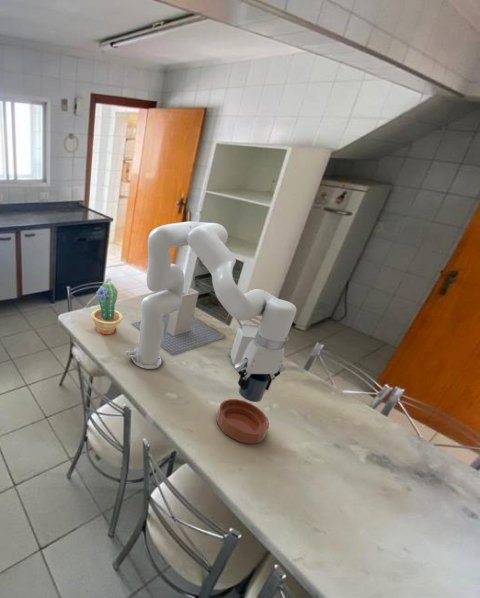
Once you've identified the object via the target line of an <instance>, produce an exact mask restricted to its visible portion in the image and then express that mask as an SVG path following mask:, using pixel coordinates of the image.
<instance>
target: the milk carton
mask: <svg viewBox="0 0 480 598" xmlns="http://www.w3.org/2000/svg"><path fill="white" fill-rule="evenodd" d="M259 325H260V324H253V323H242V325H240V326H239V327H238V329H237V332H236V335H235V338H234V341H233V345H232V348H231V351H230V354H229V355H230V356H229V357H230V359H231V361H232V362H231V363H232V364H233V366H234V365H236V364H238V363H240V362H241V360H242V357H243V355H244V353H245V350H246V348H247V346H248V345H249V343H250V342H251V340H254V339H255V337H256V334H257V331H258V328H259Z"/></svg>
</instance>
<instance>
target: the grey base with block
mask: <svg viewBox="0 0 480 598" xmlns="http://www.w3.org/2000/svg"><path fill="white" fill-rule="evenodd" d="M199 294H200V293H199V291H197V290H195V289H194V288H191V287H189V290H188V293H187V294H185V292H183V295H182V302H181V306H180V307H179V309H178V310H176V311H174V312H172V313H169V314H167V315H164V316H163V318H162V320H163V322H164V331H163V337H162V342H161V348H163V349H164V351H165V350H166V351H167V352H168V353H169V354H170V355H174V356H175V355H177V354H180V353H182V352H186V351H189V350H191V349H194V348H197V347H200V346H203V345H206V344H209V343H212V342H215V341H217V340H220V339H223V338H225V335H223V334H221V333H219V332H217V330H214V329H213V328H211V327H209V326H208V325H207V324H204V323H203V322H202V321H200V320H198V319H196V318H195V317H194V316H195V313H196V312H195V310H196V306H197V302H198V298H199ZM132 325H133V326H134V327H135V328H137V329H138V330H140V325H141V321H140V322H137V323H134V324H132Z"/></svg>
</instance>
